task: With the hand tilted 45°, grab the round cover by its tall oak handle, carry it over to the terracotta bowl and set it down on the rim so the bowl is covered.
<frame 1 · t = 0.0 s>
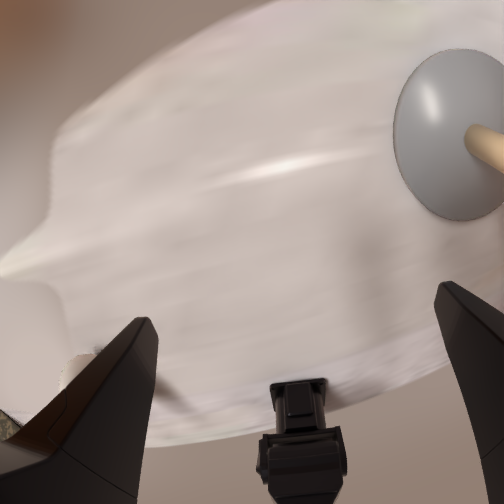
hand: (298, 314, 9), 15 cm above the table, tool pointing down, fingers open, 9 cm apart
cover: (467, 135, 20), on the table
donut: (109, 361, 35), on the table
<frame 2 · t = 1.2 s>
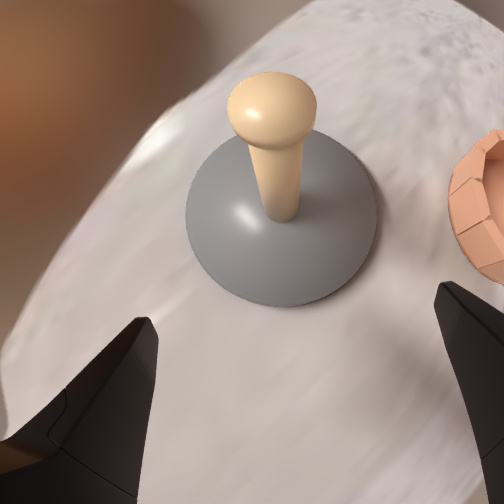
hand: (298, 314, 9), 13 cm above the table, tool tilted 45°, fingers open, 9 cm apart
cover: (281, 211, 24), on the table
bowl: (501, 215, 21), on the table
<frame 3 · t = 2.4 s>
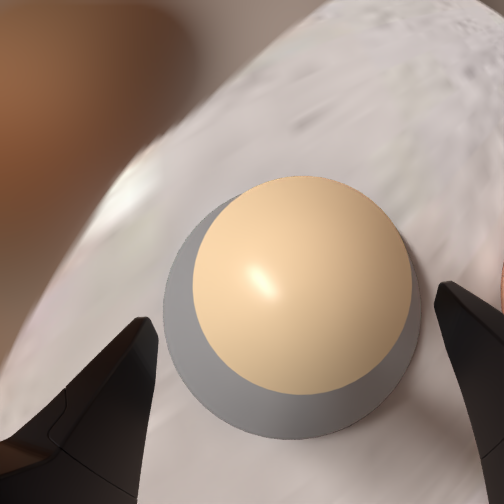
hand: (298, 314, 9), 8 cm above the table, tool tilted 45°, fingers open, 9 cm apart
cover: (293, 311, 17), on the table
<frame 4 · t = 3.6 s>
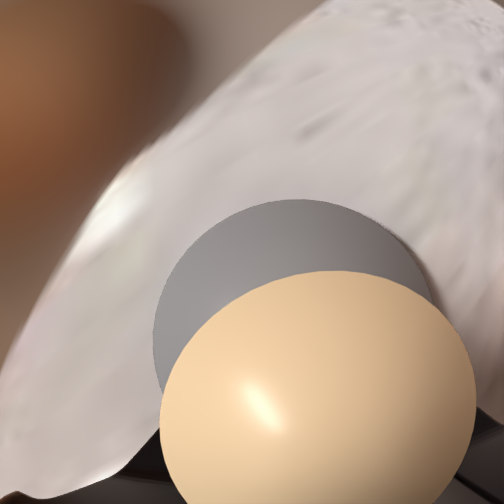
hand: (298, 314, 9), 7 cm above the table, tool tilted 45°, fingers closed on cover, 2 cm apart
cover: (297, 344, 15), on the table, touching gripper
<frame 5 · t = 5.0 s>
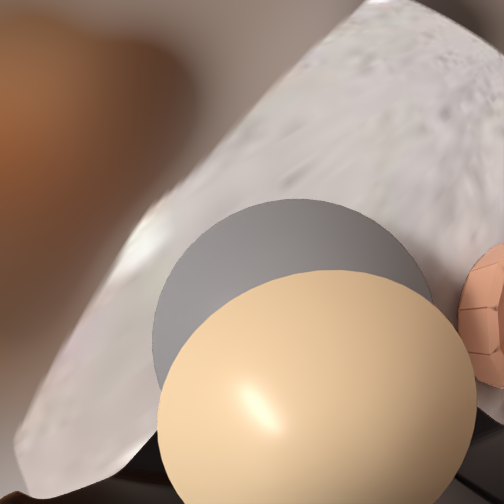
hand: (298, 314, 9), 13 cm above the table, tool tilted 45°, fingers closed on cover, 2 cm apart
cover: (296, 344, 15), point 7 cm above the table, touching gripper
when the fingers open (12 cm above the table, at t = 6.6 s): cover stays where it is, resting on bowl.
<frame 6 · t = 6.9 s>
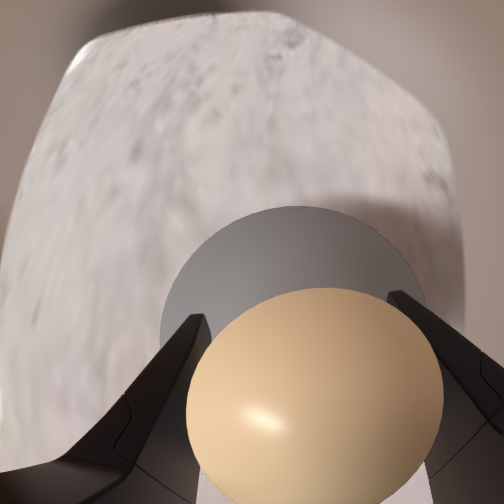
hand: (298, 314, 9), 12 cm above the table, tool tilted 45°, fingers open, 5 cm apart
cover: (296, 343, 16), point 4 cm above the table, touching bowl
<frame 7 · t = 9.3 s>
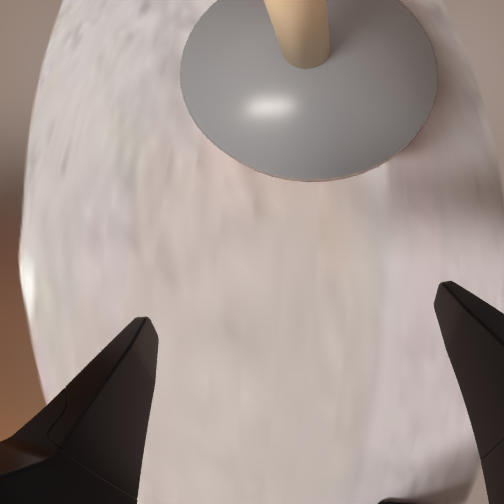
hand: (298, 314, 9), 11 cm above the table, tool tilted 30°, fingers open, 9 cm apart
cover: (308, 60, 15), point 4 cm above the table, touching bowl
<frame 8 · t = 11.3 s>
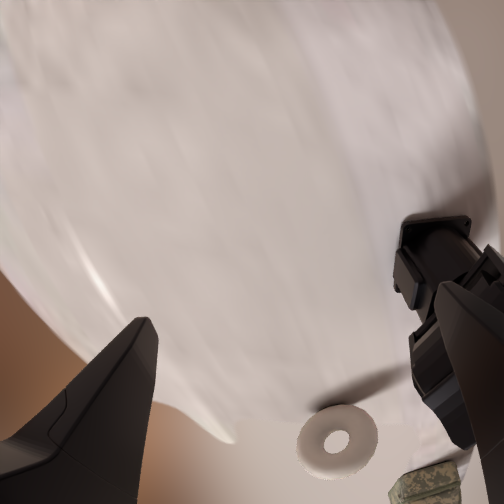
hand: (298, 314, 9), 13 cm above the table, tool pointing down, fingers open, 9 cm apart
lunch bag: (418, 476, 64), on the table
donut: (331, 406, 36), on the table
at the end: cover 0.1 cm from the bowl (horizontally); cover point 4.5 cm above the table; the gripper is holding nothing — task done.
